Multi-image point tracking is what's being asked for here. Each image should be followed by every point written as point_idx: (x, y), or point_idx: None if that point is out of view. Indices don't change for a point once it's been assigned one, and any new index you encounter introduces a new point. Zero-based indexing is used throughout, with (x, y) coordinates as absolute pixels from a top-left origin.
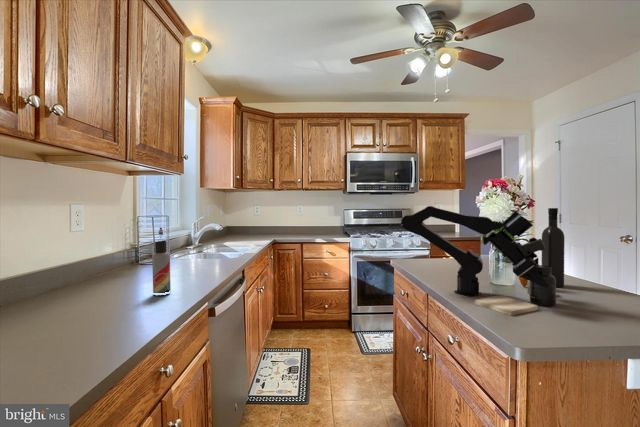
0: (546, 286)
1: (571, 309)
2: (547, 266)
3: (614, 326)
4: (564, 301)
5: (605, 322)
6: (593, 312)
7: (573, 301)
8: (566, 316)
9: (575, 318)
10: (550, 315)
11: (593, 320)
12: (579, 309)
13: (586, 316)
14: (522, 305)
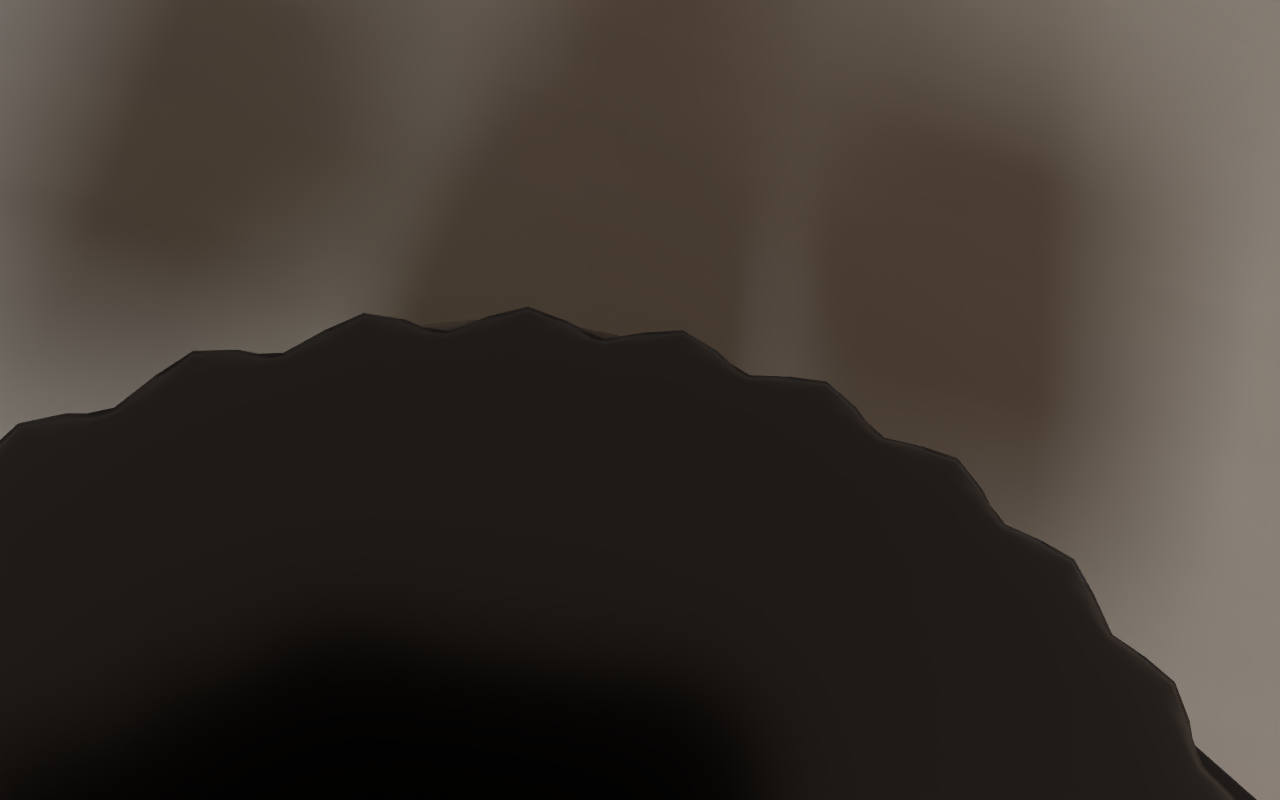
0: None
1: (665, 278)
2: (428, 643)
3: (1194, 8)
4: (143, 258)
5: (1091, 45)
6: (685, 27)
7: (80, 107)
8: (1092, 440)
9: (1121, 344)
10: (1170, 658)
11: (1084, 151)
12: (607, 163)
13: (945, 179)
14: None
